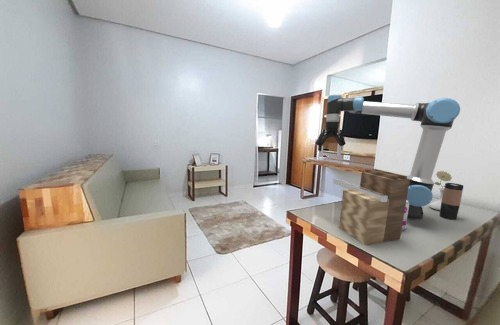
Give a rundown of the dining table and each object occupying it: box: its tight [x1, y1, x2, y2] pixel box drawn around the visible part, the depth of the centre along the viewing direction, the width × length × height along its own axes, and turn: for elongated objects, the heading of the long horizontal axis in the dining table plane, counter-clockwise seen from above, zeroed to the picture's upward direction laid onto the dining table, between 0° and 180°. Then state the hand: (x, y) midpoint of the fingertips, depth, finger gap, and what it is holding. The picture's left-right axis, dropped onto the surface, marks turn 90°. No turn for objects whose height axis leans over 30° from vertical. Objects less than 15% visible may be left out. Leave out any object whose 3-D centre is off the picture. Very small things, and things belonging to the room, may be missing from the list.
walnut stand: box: [338, 168, 410, 246], centre depth 96 cm, size 16×20×30 cm
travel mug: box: [439, 182, 464, 221], centre depth 118 cm, size 8×8×20 cm
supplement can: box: [401, 200, 409, 232], centre depth 104 cm, size 8×8×15 cm
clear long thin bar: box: [332, 178, 388, 202], centre depth 98 cm, size 30×3×2 cm, turn 16°
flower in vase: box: [428, 170, 453, 211], centre depth 131 cm, size 13×11×25 cm
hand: (329, 156), depth 128 cm, fingers open, 13 cm apart
